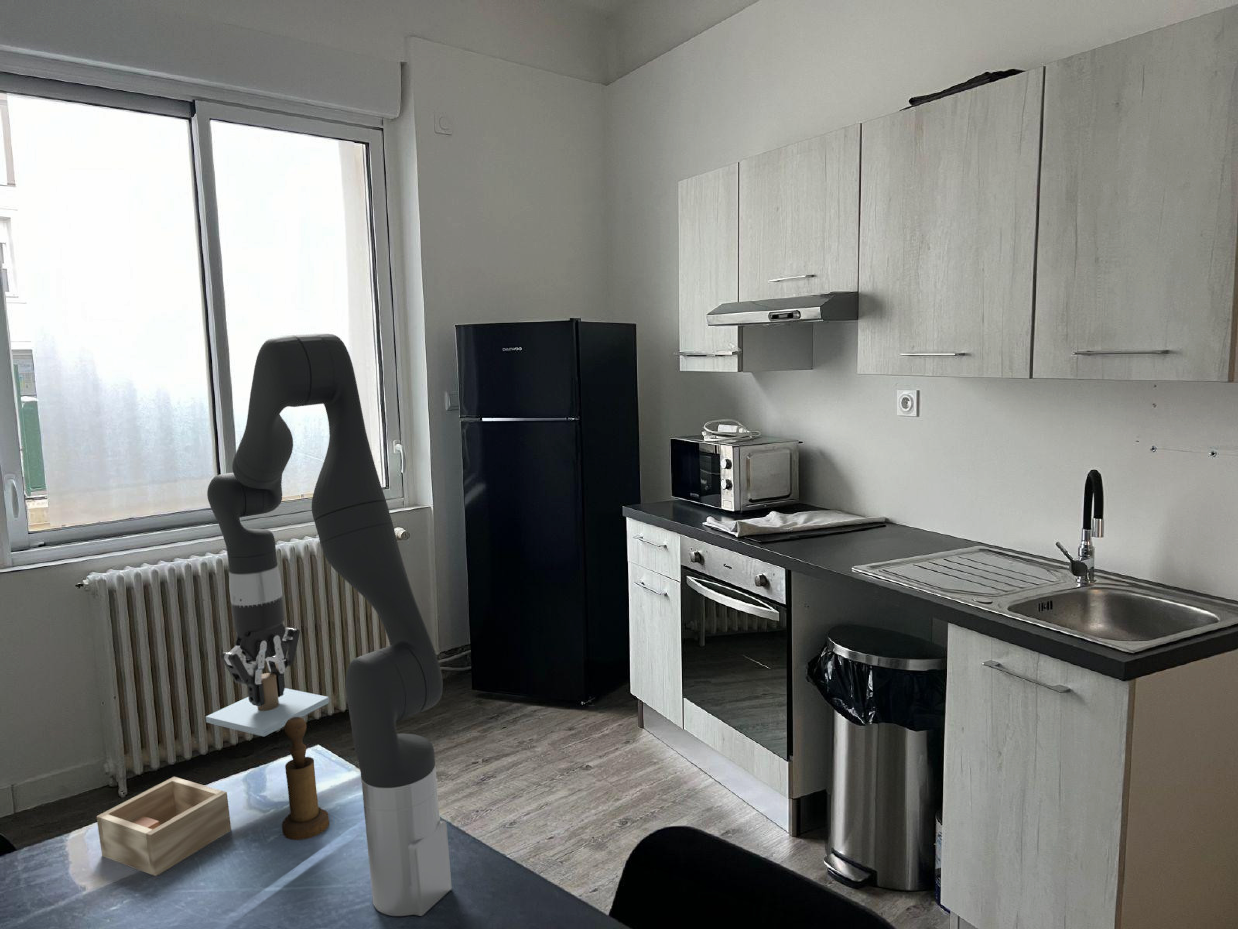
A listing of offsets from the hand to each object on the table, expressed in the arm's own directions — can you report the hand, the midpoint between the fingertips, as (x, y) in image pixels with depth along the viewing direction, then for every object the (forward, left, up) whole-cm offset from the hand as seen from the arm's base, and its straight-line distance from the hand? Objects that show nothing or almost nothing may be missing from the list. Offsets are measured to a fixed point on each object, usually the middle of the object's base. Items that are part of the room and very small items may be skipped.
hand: (268, 699), depth 137 cm
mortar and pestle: (-14, +7, -16) cm, 22 cm away
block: (+4, +20, -15) cm, 26 cm away
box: (+2, +18, -16) cm, 24 cm away
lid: (0, 0, -2) cm, 2 cm away
